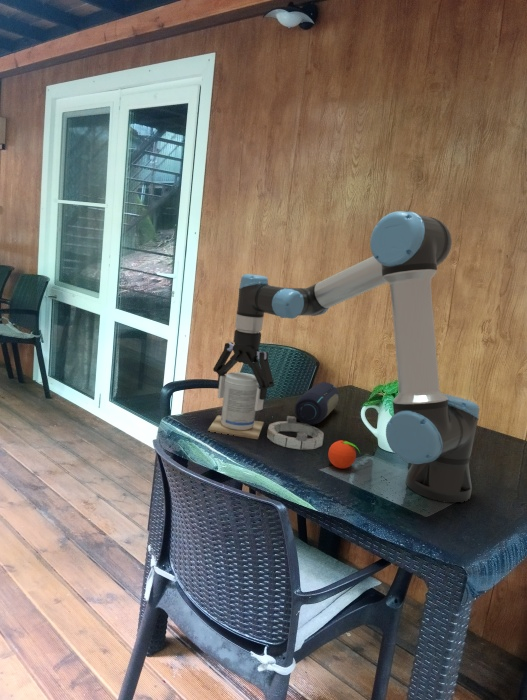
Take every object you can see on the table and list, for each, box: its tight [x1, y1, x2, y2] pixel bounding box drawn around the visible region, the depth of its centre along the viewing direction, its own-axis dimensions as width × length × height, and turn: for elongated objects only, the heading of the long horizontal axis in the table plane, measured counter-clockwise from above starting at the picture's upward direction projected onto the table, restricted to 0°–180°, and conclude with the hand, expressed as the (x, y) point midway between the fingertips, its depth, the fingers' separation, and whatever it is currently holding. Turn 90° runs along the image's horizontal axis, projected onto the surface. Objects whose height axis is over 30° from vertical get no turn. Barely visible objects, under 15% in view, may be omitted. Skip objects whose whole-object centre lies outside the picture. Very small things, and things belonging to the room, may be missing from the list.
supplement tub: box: [221, 371, 259, 430], centre depth 163 cm, size 10×10×15 cm
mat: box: [207, 414, 265, 440], centre depth 164 cm, size 14×14×1 cm
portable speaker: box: [294, 381, 341, 426], centre depth 184 cm, size 25×10×10 cm, turn 160°
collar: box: [266, 415, 325, 451], centre depth 160 cm, size 16×16×4 cm
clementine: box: [327, 439, 361, 469], centre depth 143 cm, size 8×7×7 cm
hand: (239, 403), depth 163 cm, fingers open, 13 cm apart
